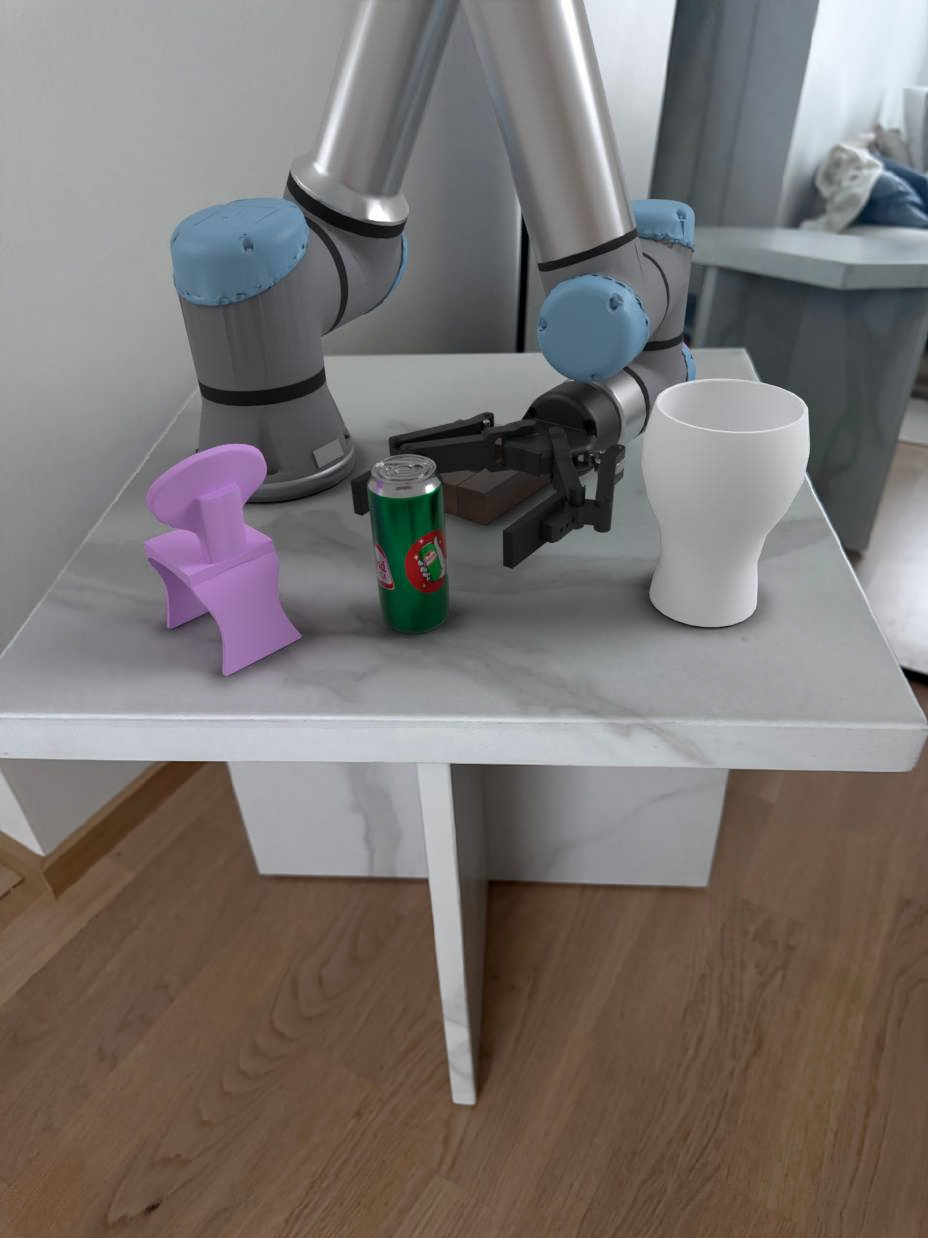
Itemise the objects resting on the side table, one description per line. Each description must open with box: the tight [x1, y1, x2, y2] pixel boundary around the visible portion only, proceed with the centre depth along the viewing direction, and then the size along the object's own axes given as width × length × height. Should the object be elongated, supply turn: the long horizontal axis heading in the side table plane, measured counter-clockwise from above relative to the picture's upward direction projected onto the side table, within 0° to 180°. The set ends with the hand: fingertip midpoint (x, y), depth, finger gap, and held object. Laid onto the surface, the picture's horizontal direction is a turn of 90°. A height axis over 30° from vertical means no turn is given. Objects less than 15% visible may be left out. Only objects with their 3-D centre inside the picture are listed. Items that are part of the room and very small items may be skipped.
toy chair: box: [142, 444, 303, 677], centre depth 59 cm, size 8×9×15 cm
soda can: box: [367, 454, 451, 635], centre depth 60 cm, size 5×5×12 cm
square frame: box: [388, 418, 551, 526], centre depth 80 cm, size 12×12×3 cm
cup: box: [640, 378, 811, 628], centre depth 60 cm, size 11×11×15 cm
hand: (427, 523), depth 60 cm, fingers open, 13 cm apart
